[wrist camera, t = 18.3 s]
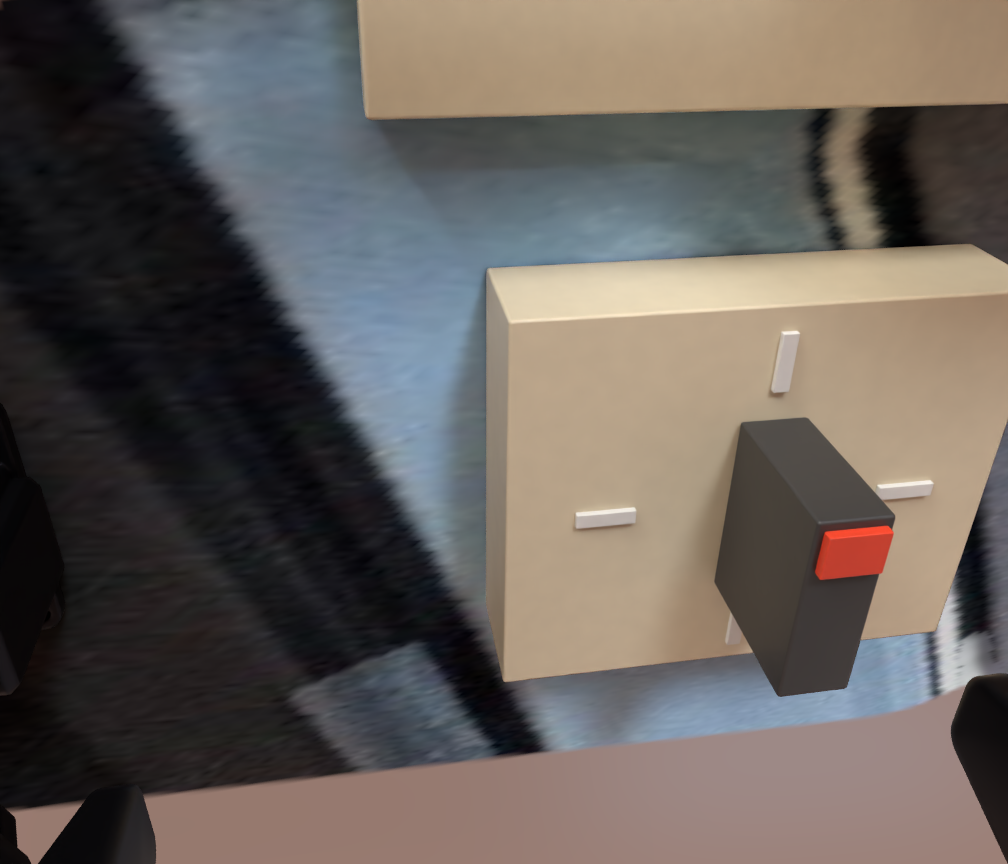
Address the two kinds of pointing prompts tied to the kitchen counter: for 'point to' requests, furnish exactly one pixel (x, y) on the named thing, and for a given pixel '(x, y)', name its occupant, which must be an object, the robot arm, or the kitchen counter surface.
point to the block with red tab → (800, 554)
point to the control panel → (722, 434)
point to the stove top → (676, 55)
